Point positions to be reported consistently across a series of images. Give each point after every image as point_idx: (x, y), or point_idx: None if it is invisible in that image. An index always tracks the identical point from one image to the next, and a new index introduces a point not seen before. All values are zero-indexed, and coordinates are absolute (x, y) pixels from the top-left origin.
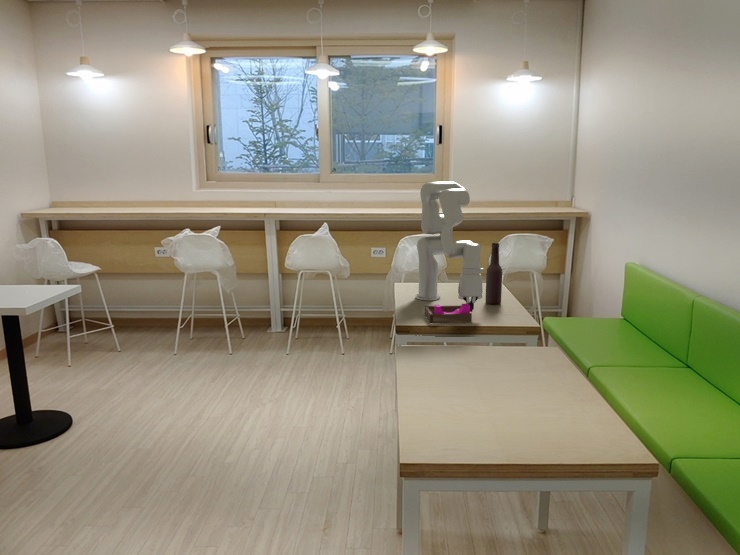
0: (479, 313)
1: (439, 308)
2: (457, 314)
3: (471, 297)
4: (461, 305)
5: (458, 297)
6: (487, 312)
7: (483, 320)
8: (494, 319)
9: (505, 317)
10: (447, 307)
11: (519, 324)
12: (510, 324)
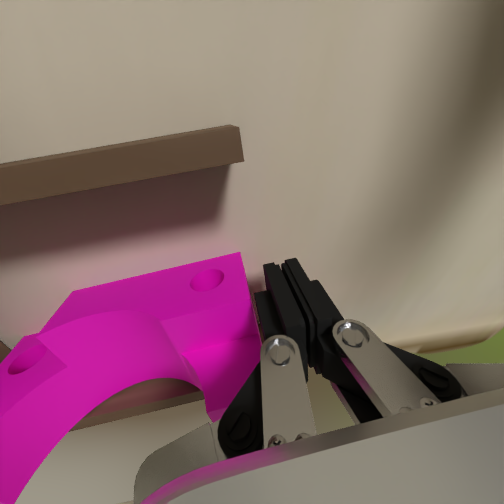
0: (380, 106)
1: (12, 485)
2: (181, 402)
3: (368, 393)
4: (205, 396)
5: (144, 485)
6: (468, 58)
7: (340, 288)
8: (408, 263)
9: (496, 214)
10: (13, 200)
11: (470, 318)
12: (434, 324)
